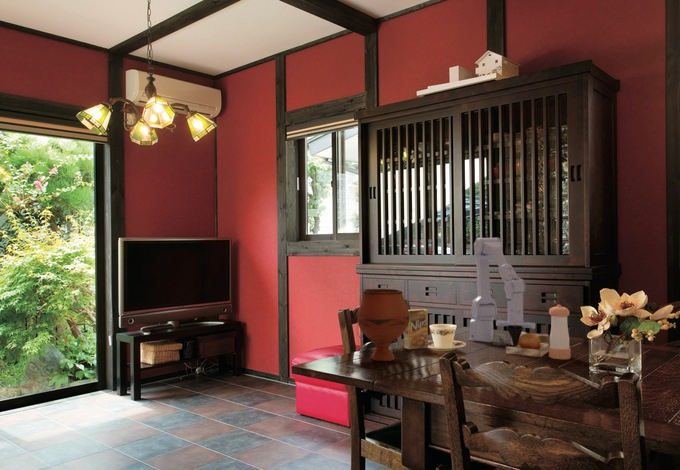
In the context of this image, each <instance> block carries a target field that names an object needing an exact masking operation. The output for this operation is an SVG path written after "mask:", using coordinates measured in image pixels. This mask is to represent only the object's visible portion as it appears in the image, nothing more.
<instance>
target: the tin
mask: <svg viewBox="0 0 680 470" xmlns="http://www.w3.org/2000/svg"><path fill="white" fill-rule="evenodd" d="M492 345H493V346H498V347H500V346H501V347H504V346H506V334H503V333H493V341H492Z"/></svg>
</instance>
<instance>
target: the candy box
mask: <svg viewBox="0 0 680 470" xmlns="http://www.w3.org/2000/svg"><path fill="white" fill-rule="evenodd" d="M408 311H409V323H408V326H407V328H406V329H405V331H404V332H403V336H404V338H403V339H404V340H403V341H404V347H403V348H404V349H407V350H415V349H416V350H417V349H427V348H426V347H428V348H429V321H428V320H429V318H428V316H429V314H428V312H429V309H424V308H416V309H408Z"/></svg>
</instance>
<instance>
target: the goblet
mask: <svg viewBox="0 0 680 470" xmlns="http://www.w3.org/2000/svg"><path fill="white" fill-rule="evenodd" d="M408 310H409V308H408V305H407V303H406V299H405V296H404V295H403V291H402V290H399V289H393V288H392V289H389V288H388V289H387V288H366V289H363V290H362V298H361V301H360V305H359V307H358V310H357V315H356V318H357V325H358V328H359V329H360V330H361V332H362V334H363V335H364V336H365V337H366V338H367V339H369V340H370V341H372V342H373V343H374V346H375V347H376V348H375V350H374V352H373V353H372V354H371V356H370V359H372V360H373V361H378V362H380V361H381V362H389V361H390V362H391V361H393V360H395V355H394V354H393V352H392V351H391V350H390V346H392V345H391V343H392V342H394V341H395V340H397V339H399V338H400V337H401V336H402V335H404V331H405V329H406V328H407V326H408V323H409V311H408Z"/></svg>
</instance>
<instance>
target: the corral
mask: <svg viewBox="0 0 680 470" xmlns="http://www.w3.org/2000/svg"><path fill="white" fill-rule="evenodd" d="M549 347H550V343H549V344H543V343H541V346H540V349H539V350H537V349H527V348H521V347H520V345H519V343H518V346H505V354H509V355H518V356H525V357H526V356H527V357H528V356H529V357H537V358H539V357H540V358H541V357H543V356H544V355H546V354H547V353H549Z"/></svg>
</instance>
